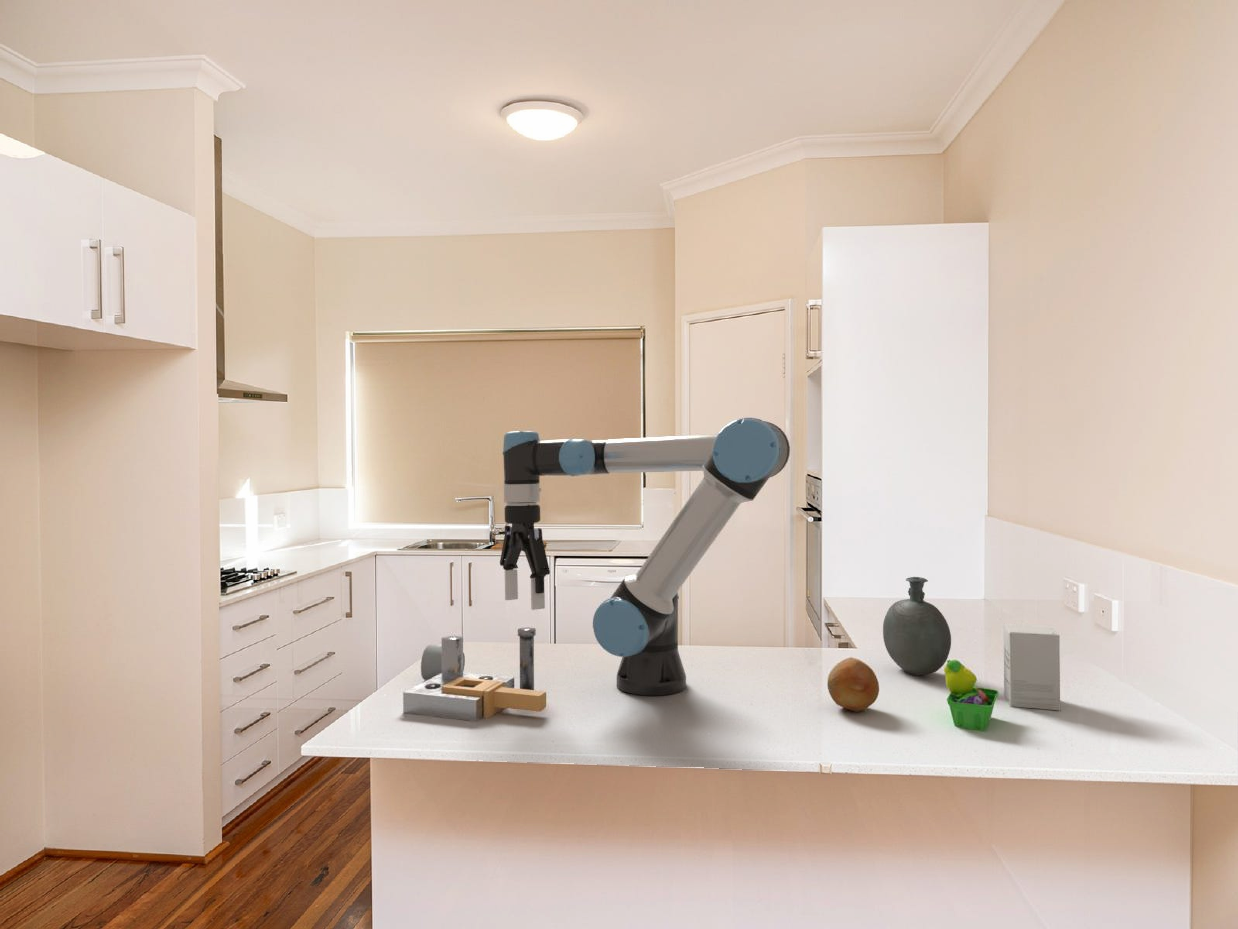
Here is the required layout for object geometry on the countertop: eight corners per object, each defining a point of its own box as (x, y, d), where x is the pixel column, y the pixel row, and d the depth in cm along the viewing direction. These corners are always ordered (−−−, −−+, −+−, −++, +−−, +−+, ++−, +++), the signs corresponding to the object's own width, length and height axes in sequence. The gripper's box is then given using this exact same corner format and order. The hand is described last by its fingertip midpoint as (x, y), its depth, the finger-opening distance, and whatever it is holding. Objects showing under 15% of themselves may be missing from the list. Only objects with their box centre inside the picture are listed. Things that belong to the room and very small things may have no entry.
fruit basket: (991, 735, 138) (992, 672, 138) (938, 726, 142) (938, 665, 142) (999, 717, 147) (999, 657, 147) (949, 709, 152) (949, 651, 152)
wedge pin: (538, 689, 165) (538, 628, 165) (531, 694, 162) (531, 631, 162) (522, 688, 166) (522, 626, 166) (514, 693, 163) (514, 630, 163)
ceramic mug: (456, 685, 169) (456, 650, 169) (419, 684, 170) (420, 649, 170) (470, 672, 179) (470, 639, 179) (436, 671, 180) (436, 638, 180)
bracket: (550, 711, 151) (550, 686, 151) (535, 723, 144) (535, 696, 144) (460, 701, 157) (459, 677, 157) (441, 712, 151) (441, 686, 151)
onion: (816, 705, 154) (816, 655, 154) (856, 699, 158) (856, 650, 158) (848, 721, 145) (848, 668, 145) (890, 714, 149) (890, 662, 149)
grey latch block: (514, 696, 161) (514, 638, 161) (476, 721, 145) (476, 657, 145) (446, 689, 166) (446, 633, 166) (403, 712, 151) (403, 651, 150)
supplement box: (1051, 698, 159) (1051, 625, 159) (1061, 711, 150) (1061, 634, 150) (1002, 693, 162) (1002, 622, 162) (1009, 706, 153) (1009, 631, 153)
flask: (909, 685, 168) (909, 584, 168) (875, 664, 185) (876, 572, 185) (960, 683, 169) (960, 583, 169) (922, 663, 186) (922, 571, 186)
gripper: (564, 505, 155) (567, 611, 155) (515, 501, 177) (516, 594, 177) (530, 507, 151) (533, 615, 151) (483, 502, 173) (485, 597, 173)
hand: (524, 604), depth 164 cm, fingers open, 13 cm apart
